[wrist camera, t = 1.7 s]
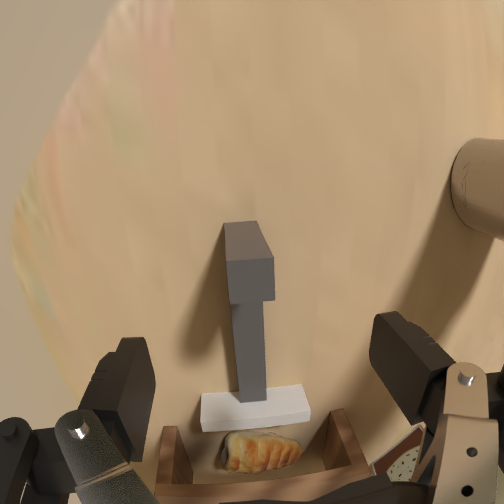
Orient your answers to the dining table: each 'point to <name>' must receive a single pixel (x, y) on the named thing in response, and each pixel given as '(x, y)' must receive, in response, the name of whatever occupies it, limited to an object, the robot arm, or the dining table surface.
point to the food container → (400, 457)
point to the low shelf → (285, 489)
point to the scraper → (251, 342)
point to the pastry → (258, 452)
